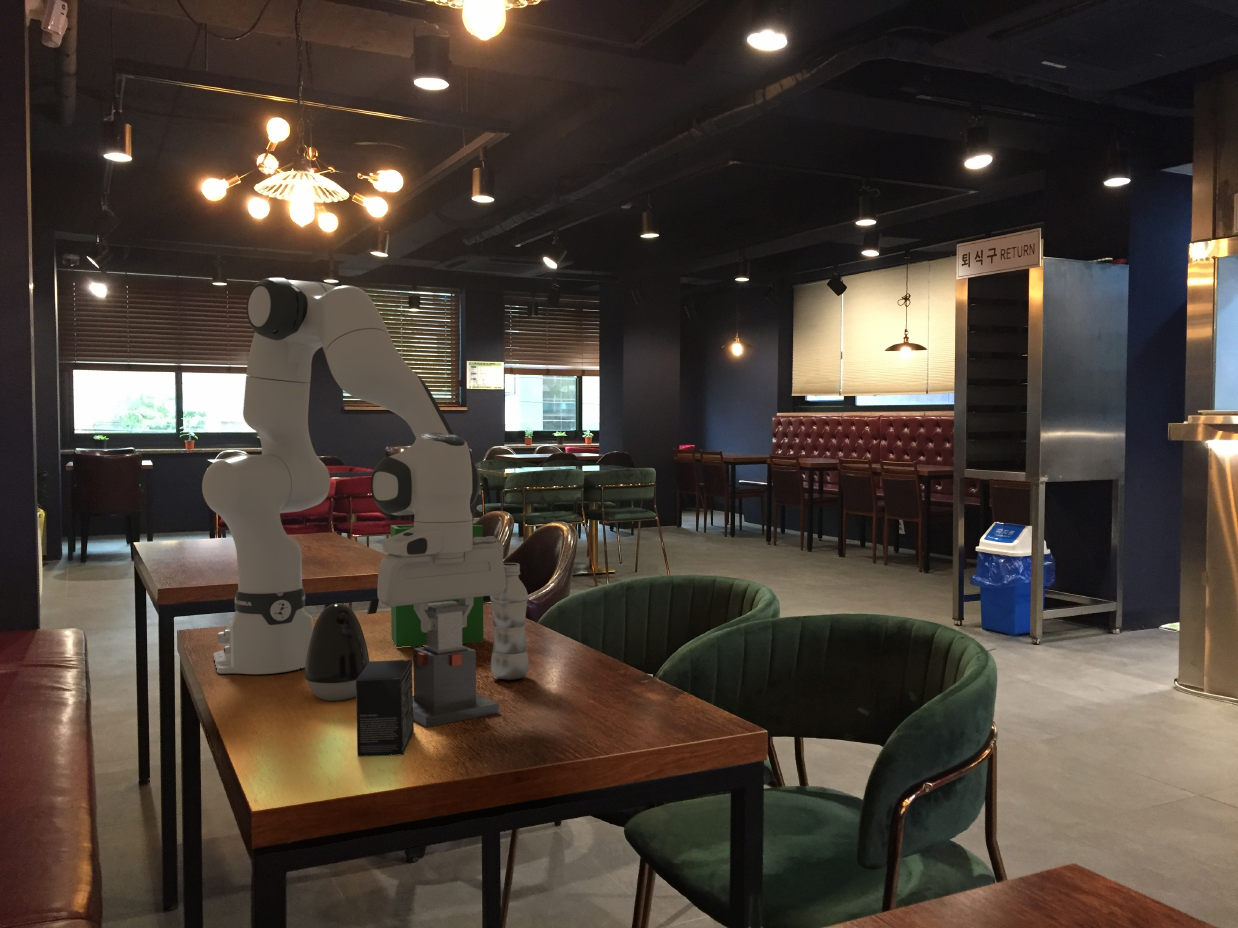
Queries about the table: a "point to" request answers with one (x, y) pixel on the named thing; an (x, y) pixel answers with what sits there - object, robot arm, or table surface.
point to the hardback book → (407, 620)
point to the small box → (384, 708)
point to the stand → (447, 688)
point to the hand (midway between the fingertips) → (444, 629)
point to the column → (445, 627)
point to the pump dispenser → (336, 654)
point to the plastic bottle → (510, 627)
